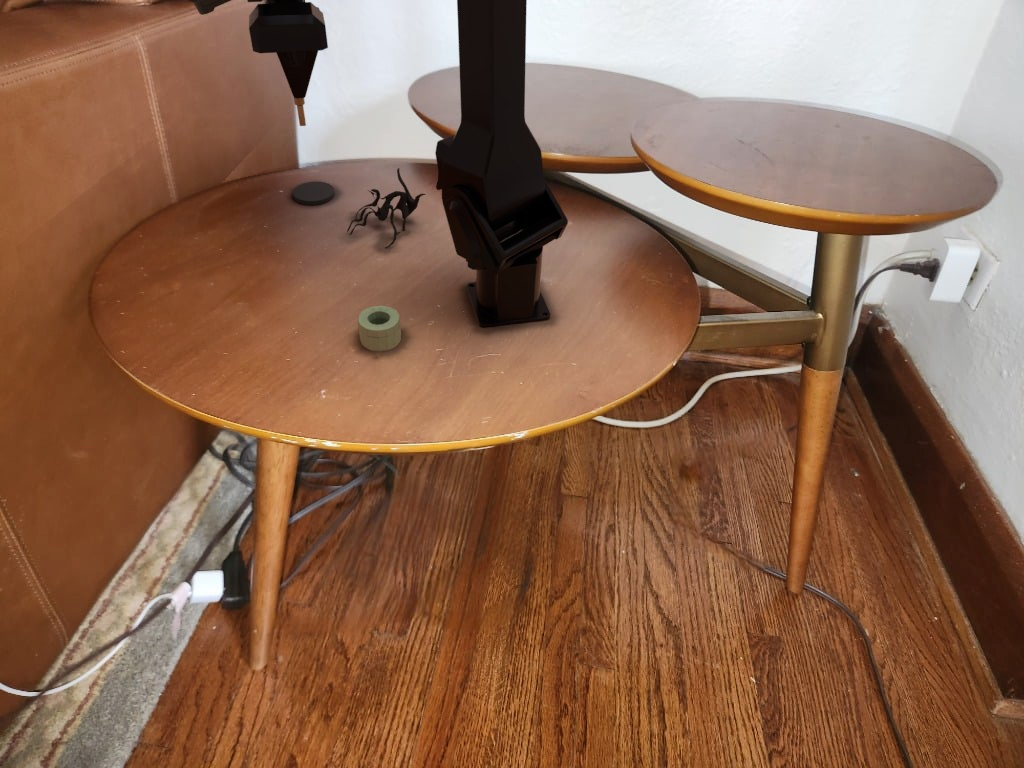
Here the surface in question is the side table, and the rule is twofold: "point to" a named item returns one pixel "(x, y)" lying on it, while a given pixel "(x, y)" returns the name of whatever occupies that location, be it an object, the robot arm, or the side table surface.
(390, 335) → the pale green thick ring
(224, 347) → the side table surface
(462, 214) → the robot arm
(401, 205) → the creature
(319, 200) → the coaster
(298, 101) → the wooden stick
